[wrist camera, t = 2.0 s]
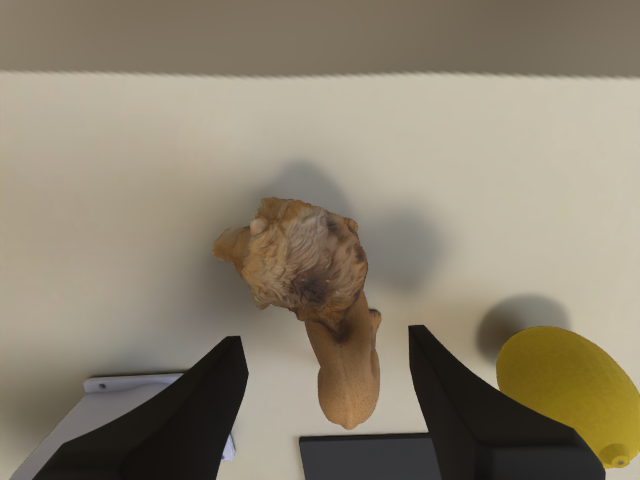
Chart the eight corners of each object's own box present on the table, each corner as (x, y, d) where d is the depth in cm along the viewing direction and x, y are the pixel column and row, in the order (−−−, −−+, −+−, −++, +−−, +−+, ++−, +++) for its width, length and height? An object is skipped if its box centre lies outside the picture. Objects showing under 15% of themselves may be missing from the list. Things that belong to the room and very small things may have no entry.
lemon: (498, 290, 20) (592, 395, 12) (586, 314, 20) (732, 430, 13) (461, 364, 22) (524, 492, 14) (542, 384, 22) (646, 522, 15)
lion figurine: (245, 190, 19) (167, 250, 10) (335, 154, 18) (329, 188, 9) (338, 389, 23) (337, 544, 15) (414, 368, 22) (460, 522, 14)
